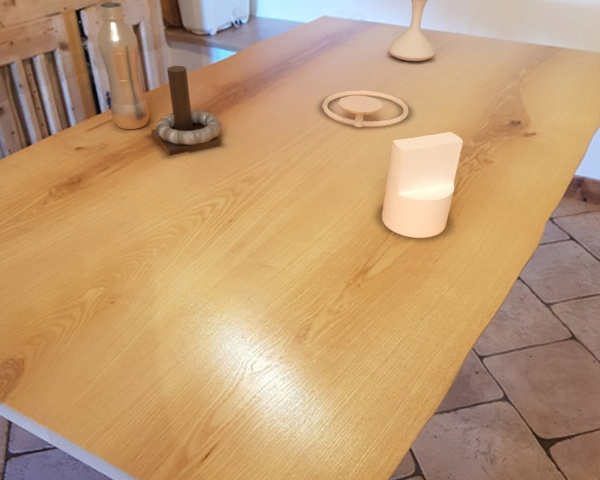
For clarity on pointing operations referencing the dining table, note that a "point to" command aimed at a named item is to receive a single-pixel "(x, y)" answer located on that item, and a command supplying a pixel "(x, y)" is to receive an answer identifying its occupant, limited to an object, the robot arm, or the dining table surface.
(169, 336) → the dining table surface
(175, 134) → the segmented ring
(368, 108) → the hand towel holder
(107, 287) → the dining table surface
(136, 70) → the plastic bottle
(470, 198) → the dining table surface
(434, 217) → the cylinder with rectangular tab
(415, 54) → the flower in vase
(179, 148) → the stand
